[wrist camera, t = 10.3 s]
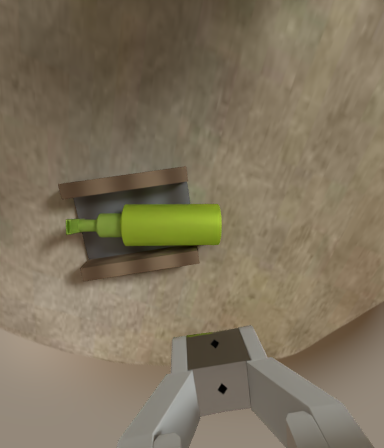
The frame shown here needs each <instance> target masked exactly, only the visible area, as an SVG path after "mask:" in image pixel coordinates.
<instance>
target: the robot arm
mask: <svg viewBox="0 0 384 448" xmlns="http://www.w3.org/2000/svg"><path fill="white" fill-rule="evenodd" d="M248 408H251V409H252V411H253V412H254V413H255V414H256V415H257V416H258V417H259V418H260V419H261V421H262V422H263V423H264V424H265V425H266V426H267V427H268V428H269V429H270V430H271V432H273V434H274V435H275V436H276V437H277V438H278V439H279V440H280V442H281V443H282V444H283V445H284V446H285V447H286V448H374V447H373V445H372V444H371V442H370V441H369V439H368V438H367V437H366V435H365V434H364V433H363V431H362V429H361V428H360V427H359V425H358V424H357V422H356V421H355V420H354V418H353V417H352V415H351V414H350V412H349V411H348V410H347V408H346V407H345V405H344V404H343V403H342V402H340V401H339V400H337V399H335V398H334V397H333V396H331V395H329V394H328V393H326V392H325V391H323V390H322V389H320V388H319V387H317V386H316V385H314V384H312V383H311V382H309V381H308V380H306V379H305V378H303V377H301V376H300V375H299V374H297V373H295V372H294V371H292V370H291V369H289V368H288V367H286V366H285V365H283V364H282V363H280V362H278V361H277V360H275V359H274V358H272V357H270V358H268V357H267V355H266V353H265V351H264V349H263V347H262V345H261V343H260V341H259V339H258V337H257V335H256V332H255V330H254V328H253V326H251V325H249V326H244V327H238V328H235V329H229V330H223V331H217V332H209V333H202V334H194V335H187V336H181V337H174V338H173V339H172V354H171V374H166V376H165V377H164V379H163V380H162V381H161V383H160V384H159V386H158V387H157V388H156V390H155V391H154V392H153V394H152V395H151V396H150V398H149V399H148V400H147V402H146V403H145V405H144V406H143V407H142V409H141V410H140V412H139V413H138V414H137V416H136V417H135V418H134V420H133V421H132V423H131V424H130V425H129V426H128V428H127V429H126V430H125V432H124V433H123V435H122V436H121V438H120V439H119V440H118V444H117V448H189V446H190V443H191V441H192V438H193V436H194V433H195V431H196V428H197V426H198V423H199V420H200V417H201V416H206V415H211V414H215V413H221V412H225V411H233V410H241V409H248Z"/></svg>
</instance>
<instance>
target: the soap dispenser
mask: <svg viewBox="0 0 384 448" xmlns="http://www.w3.org/2000/svg"><path fill="white" fill-rule="evenodd" d="M221 226H222V225H221V211H220V207H219V205H218V204H125V205H124V207H123V211H122V213H101V214H99V215H98V217H97V219H95V220H85V219H66V235H69V234H74V233H80V232H97V234H98V235H99V237H122V239H123V243H124V245H125V246H170V245H218V244H219V243H220V239H221Z"/></svg>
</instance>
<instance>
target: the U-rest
mask: <svg viewBox="0 0 384 448" xmlns="http://www.w3.org/2000/svg"><path fill="white" fill-rule="evenodd" d="M187 181H188V177H187V170H186V166H185V167H178V168H171V169H163V170H156V171H149V172H142V173H135V174H128V175H121V176H114V177H107V178H99V179H92V180H85V181H78V182H71V183H64V184H58V187H59V190H60V194H61V198H62V199H68V198H74V202H75V206H76V210H77V214H78V218H79V219H85V220H95V219H97V217H98V215H99V214H101V213H122V211H123V207H124V205H125V204H190V199H189V192H188V184H187ZM82 234H83V238H84V242H85V246H86V250H87V254H88V258H89V260H88V261H87V262H86V263H85V264H84V265H83V266H82V267H81V268H80V270H81V274H82V278H83V281H89V280H96V279H102V278H109V277H115V276H121V275H128V274H134V273H141V272H147V271H154V270H160V269H166V268H173V267H179V266H186V265H192V264H199V256H198V250H197V246H196V245H170V246H125V245H124V243H123V239H122V237H99V235H98V234H97V232H82Z"/></svg>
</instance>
